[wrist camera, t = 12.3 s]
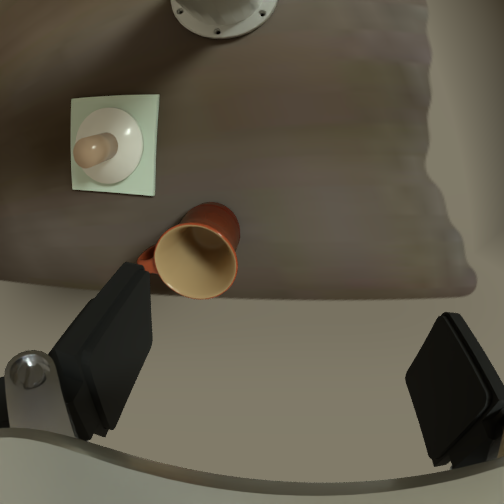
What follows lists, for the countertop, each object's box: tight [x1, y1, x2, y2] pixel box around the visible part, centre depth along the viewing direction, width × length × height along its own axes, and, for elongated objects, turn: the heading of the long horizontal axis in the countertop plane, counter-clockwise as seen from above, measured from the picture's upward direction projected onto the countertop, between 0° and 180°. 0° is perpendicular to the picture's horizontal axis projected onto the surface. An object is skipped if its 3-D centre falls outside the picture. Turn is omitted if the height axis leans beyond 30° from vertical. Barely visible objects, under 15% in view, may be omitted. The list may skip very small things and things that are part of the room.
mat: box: [71, 95, 160, 196], centre depth 36 cm, size 13×13×1 cm
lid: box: [73, 107, 144, 184], centre depth 33 cm, size 10×10×6 cm
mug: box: [137, 202, 240, 299], centre depth 37 cm, size 12×9×10 cm
